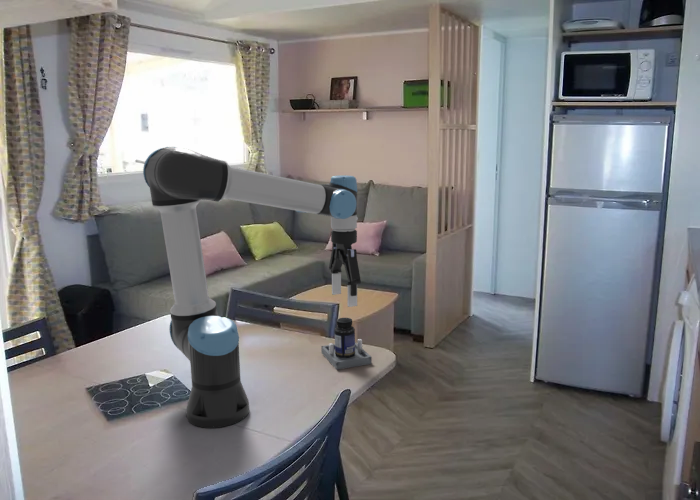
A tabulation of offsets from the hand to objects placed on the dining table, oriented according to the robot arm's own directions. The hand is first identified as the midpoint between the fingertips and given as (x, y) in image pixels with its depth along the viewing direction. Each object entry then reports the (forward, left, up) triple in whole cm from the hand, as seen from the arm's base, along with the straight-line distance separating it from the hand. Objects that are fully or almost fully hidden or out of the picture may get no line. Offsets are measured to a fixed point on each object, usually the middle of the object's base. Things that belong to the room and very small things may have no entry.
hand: (344, 300), depth 177 cm
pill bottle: (0, 0, -17) cm, 17 cm away
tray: (0, 0, -18) cm, 18 cm away
